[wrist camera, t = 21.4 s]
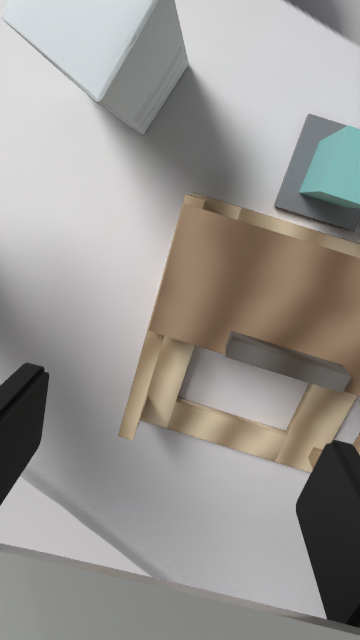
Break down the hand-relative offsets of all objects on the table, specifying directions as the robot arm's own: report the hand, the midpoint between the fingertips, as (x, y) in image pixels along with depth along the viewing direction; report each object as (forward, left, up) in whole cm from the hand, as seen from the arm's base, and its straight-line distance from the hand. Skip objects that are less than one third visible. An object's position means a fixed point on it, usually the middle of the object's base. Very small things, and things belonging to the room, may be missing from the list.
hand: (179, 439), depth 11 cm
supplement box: (-12, +15, -27) cm, 33 cm away
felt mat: (+8, +12, -27) cm, 30 cm away
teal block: (+8, +12, -26) cm, 30 cm away
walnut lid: (+8, +1, -19) cm, 21 cm away
